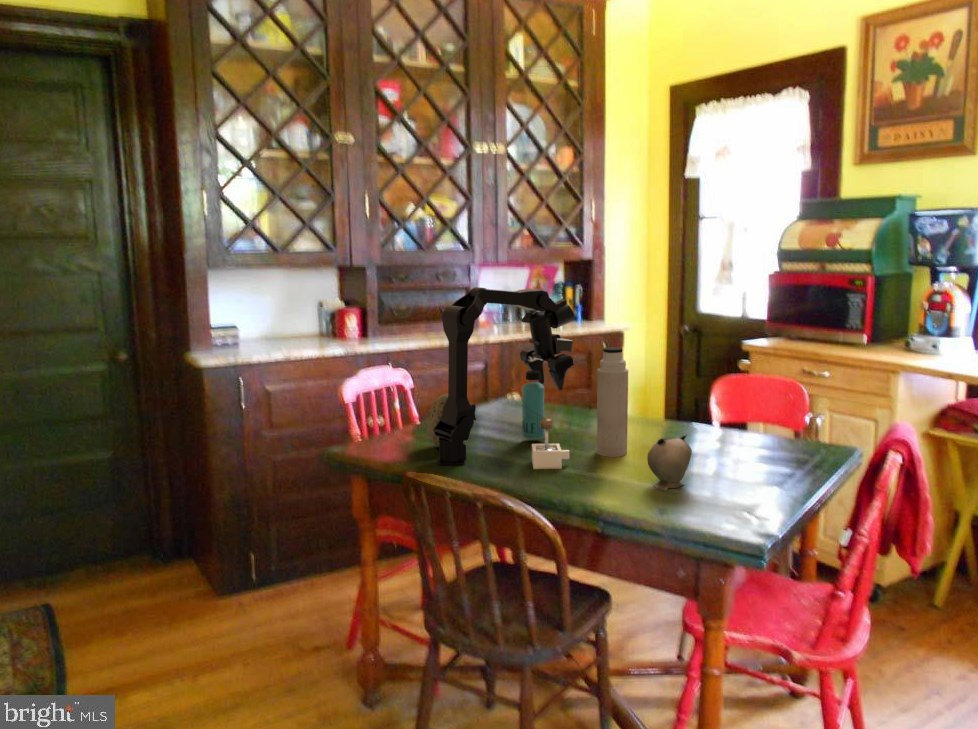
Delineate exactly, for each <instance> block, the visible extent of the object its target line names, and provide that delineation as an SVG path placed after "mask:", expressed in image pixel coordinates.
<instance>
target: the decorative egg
mask: <svg viewBox="0 0 978 729" xmlns="http://www.w3.org/2000/svg"><path fill="white" fill-rule="evenodd" d="M447 398H448V393H445V394H442V395H440V396H438V397H437V398H436V399H435V401H434V402H433V403H432V405H431V407H430V409H429V411H428V414H427V417H426V433H427V436H428V437H429V440H430V441H431V442H432V443H433V444H434V445H435V446H437V447H438V448H439V437H436V436H435V434H434V431H433V429H434V427H435V426H436V425H437V423H438V422H439V421H440V419H441V418H442V411H443V406H444V404H445V402H446V400H447ZM452 432H453V430H452Z"/></svg>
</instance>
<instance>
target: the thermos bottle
mask: <svg viewBox="0 0 978 729" xmlns="http://www.w3.org/2000/svg"><path fill="white" fill-rule="evenodd" d="M602 352H603V358H602V359H601V360H599V367H598V368H597V370H596V372H597V373H596V375H597V376H596V384H597V385H596V419H597V420H596V421H597V422H596V454H598V455H600V456H603V457H609V458H610V457H614V458H616V457H623V456H626V455H627V454H628V427H629V426H628V425H629V424H628V422H629V420H628V409H629V408H628V406H629V369H628V368H626V367H627V366H626V365H627V363H626V359H624V358H623V348H622V347H616V346H615V347H614V346H609V347H604V348H602Z"/></svg>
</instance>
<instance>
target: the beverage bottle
mask: <svg viewBox="0 0 978 729" xmlns="http://www.w3.org/2000/svg"><path fill="white" fill-rule="evenodd" d="M540 379H541V377H540V372H539V371H531V370H527V371H526V372H525V380H527V381H530V382H526V383H524V384H523V386H522V387H521V390H522V396H521V397H522V398H521V411H522V413H521V418H522V420H521V426H522V429H521V431H522V433H521V434H522V437H523V438H524V439H529V440H541V439H543V438H545V429H542V428H540V419H543V418H545V386H544V385H543V384H541V383H539V381H538V380H540ZM531 381H532V382H531ZM536 381H538V382H536Z"/></svg>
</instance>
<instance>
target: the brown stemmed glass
mask: <svg viewBox="0 0 978 729" xmlns="http://www.w3.org/2000/svg"><path fill="white" fill-rule="evenodd" d="M540 428H542V429H545V435H544V444H545V447H539V448H538V449H537V451H552V450H556V449H555V448H553V447H548V444H549V430H550V429H553V418H549V417H547V418H546V417H544V418H543V419H540Z"/></svg>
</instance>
